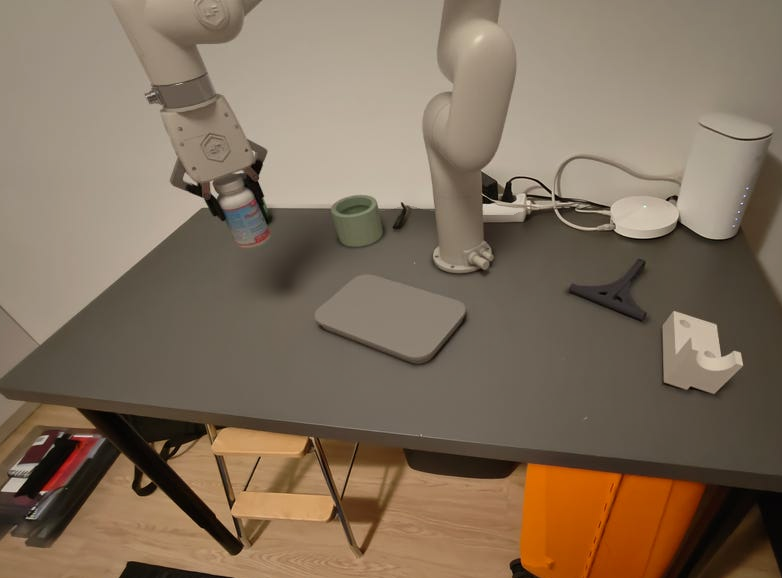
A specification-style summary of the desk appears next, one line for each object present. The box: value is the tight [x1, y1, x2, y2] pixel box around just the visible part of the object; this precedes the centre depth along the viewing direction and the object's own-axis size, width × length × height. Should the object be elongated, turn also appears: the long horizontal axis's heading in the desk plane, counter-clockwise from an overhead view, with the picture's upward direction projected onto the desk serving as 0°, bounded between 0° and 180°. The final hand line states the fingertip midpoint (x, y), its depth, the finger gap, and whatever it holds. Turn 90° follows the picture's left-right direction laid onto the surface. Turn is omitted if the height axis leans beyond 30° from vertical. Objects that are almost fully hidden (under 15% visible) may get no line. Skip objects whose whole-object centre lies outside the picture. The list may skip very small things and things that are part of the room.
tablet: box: [314, 274, 467, 365], centre depth 85 cm, size 16×26×2 cm, turn 59°
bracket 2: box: [662, 310, 744, 395], centre depth 70 cm, size 13×7×8 cm, turn 163°
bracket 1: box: [568, 258, 648, 322], centre depth 86 cm, size 14×15×3 cm
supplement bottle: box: [238, 172, 272, 225], centre depth 115 cm, size 7×7×12 cm
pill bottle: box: [212, 172, 272, 250], centre depth 78 cm, size 6×6×11 cm
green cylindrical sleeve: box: [330, 194, 384, 248], centre depth 107 cm, size 10×10×8 cm
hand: (240, 209), depth 77 cm, fingers closed on pill bottle, 6 cm apart
